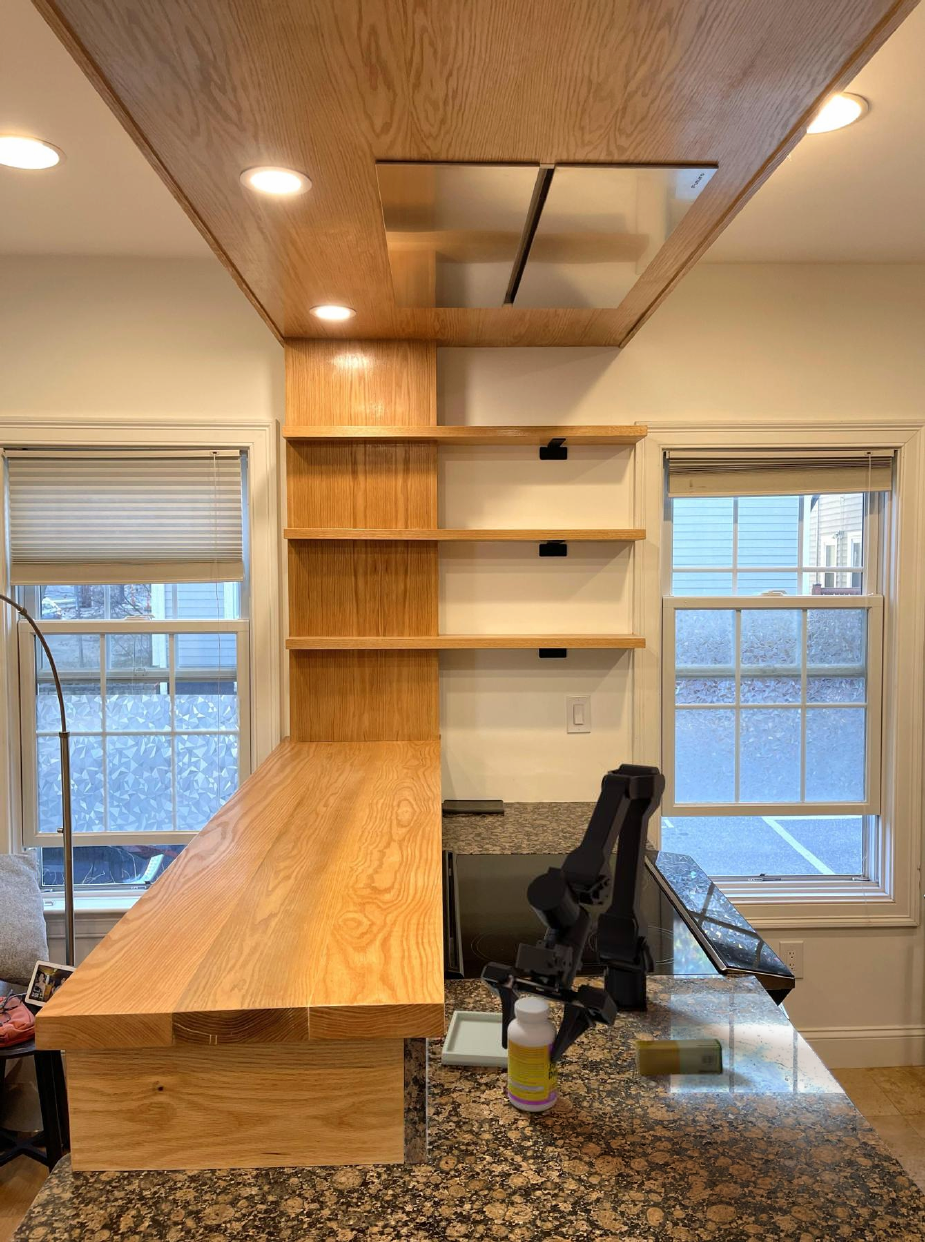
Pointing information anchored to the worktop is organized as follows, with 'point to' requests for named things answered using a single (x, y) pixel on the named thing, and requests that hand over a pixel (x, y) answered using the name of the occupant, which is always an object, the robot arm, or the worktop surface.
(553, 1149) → the worktop surface
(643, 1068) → the medication box
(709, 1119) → the worktop surface
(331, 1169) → the worktop surface
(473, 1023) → the tray
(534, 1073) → the supplement bottle
